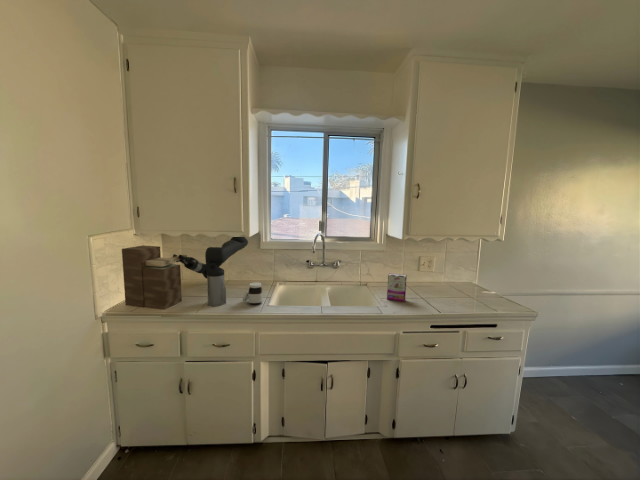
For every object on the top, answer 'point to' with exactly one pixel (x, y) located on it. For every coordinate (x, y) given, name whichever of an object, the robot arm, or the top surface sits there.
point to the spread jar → (254, 294)
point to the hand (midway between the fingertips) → (176, 256)
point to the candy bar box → (396, 287)
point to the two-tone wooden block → (149, 279)
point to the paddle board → (162, 261)
